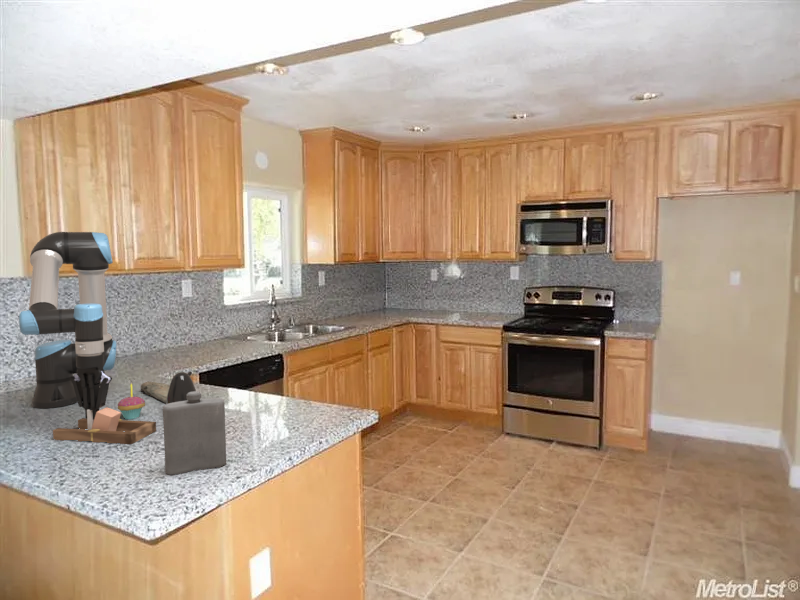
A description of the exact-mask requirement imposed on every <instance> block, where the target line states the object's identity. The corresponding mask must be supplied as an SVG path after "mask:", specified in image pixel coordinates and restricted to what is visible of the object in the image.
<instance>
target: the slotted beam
mask: <svg viewBox="0 0 800 600" xmlns="http://www.w3.org/2000/svg"><path fill="white" fill-rule="evenodd" d="M78 428H80V429H78ZM85 429H88V424H87V419H86V418H84V417H82V418H79V419H78V420H77V428H63V427H58V428H55V429H53V430H52V436H53V438H52V439H55V440H54V441H64V440H78V441H77V442H82V441H92V442H91V443H100V442H107V443H106V444H117V443H120V444H121V445H133V444H135V443H137V442H138V441H141V440H143V439H144V438H147V437H148V436H150V435H151V434H153V433H155V432H157V421H148V420H147V421H146V420H132V419H121V418H120V419H119V422H118V426H117V429H116V431H104V430H100V429H92V430H85ZM123 431H125V432H123ZM140 439H141V440H140Z"/></svg>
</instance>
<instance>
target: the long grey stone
mask: <svg viewBox="0 0 800 600" xmlns="http://www.w3.org/2000/svg"><path fill="white" fill-rule="evenodd" d="M169 386H170V384H167V383H163V382H156V381H145V382H142V383H141V384H140V390H141V391H143V393H145V394H146V396H149V395H150V396H151V397H152V398H155V399H156V400H159V401H160V402H162V403H164V404H166V403H167V395H168V390H169ZM150 396H149V397H150Z"/></svg>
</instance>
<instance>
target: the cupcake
mask: <svg viewBox="0 0 800 600" xmlns="http://www.w3.org/2000/svg"><path fill="white" fill-rule="evenodd" d="M129 385H130V386H129V389H130V392H129V393H130V396H127V397H123V398H122V399H121V400H120V401H119V402H118V403H117V410H118V411H119V412H121V414H122V416H123V419H124V418H125V419H124V420H133V419H137V417H138V418H139V417H140V415H141V412H142V409H143V407H145V406H146V401H145V400H144V398H142V397H140V396H134V394H133V392H134V391H133V390H134V389H133V383H132V381H130V384H129Z"/></svg>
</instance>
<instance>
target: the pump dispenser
mask: <svg viewBox="0 0 800 600" xmlns="http://www.w3.org/2000/svg"><path fill="white" fill-rule="evenodd" d="M192 374H193V372H192V371H189V372H183V371H179V372H177V373H175V374H174V376H173V377H172V379H171V381H170V382H169V383H170V384H169V385H170V386H169V390H168V395H167V403H165V405H166V404H169V403H173V402H179V401H186V400H187V397H186V395H187V394H188V393H189V392H193V391H197V390H196V386H195V384H194V382H193V379H192V377H191V375H192Z"/></svg>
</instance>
